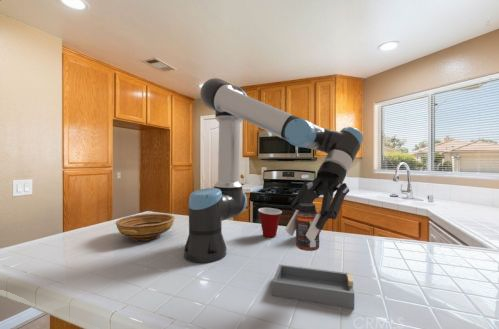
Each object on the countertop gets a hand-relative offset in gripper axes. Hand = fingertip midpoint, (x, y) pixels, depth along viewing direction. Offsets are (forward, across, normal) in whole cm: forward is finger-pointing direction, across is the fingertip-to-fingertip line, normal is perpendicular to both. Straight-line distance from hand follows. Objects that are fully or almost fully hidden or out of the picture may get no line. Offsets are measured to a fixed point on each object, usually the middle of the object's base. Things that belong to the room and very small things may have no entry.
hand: (298, 235), depth 60 cm
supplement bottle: (0, 0, -5) cm, 5 cm away
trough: (+7, -1, -14) cm, 16 cm away
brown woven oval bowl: (+22, +74, +1) cm, 77 cm away
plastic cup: (-9, +40, -30) cm, 51 cm away
